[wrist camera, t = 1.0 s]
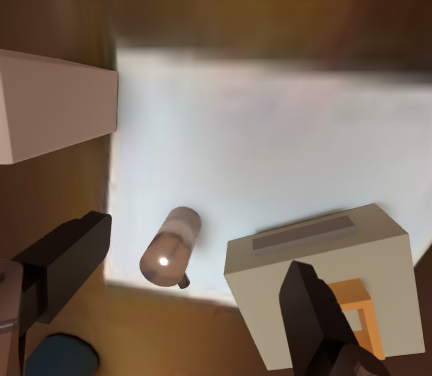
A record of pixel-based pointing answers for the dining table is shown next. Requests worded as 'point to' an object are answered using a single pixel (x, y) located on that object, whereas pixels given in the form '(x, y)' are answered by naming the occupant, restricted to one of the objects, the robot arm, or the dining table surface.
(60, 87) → the milk carton
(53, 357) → the wine bottle
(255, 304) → the slab with orange tray
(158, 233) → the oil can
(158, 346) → the dining table surface
